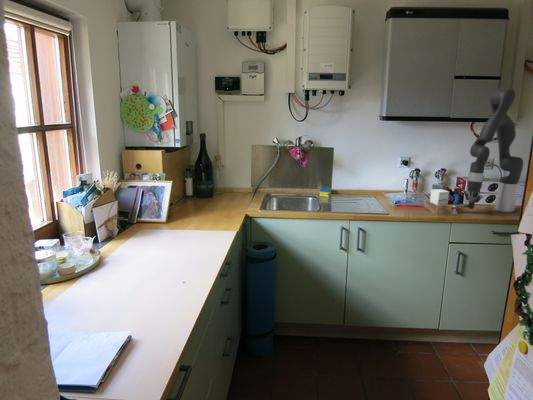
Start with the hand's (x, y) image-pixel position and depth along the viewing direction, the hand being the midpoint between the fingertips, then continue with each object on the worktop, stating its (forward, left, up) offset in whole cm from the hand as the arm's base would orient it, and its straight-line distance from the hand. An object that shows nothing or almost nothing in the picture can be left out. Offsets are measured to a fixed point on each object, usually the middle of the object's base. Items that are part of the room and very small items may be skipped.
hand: (470, 208), depth 227 cm
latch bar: (+4, -2, 0) cm, 4 cm away
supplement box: (+17, -7, -3) cm, 18 cm away
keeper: (+15, -6, -3) cm, 16 cm away
